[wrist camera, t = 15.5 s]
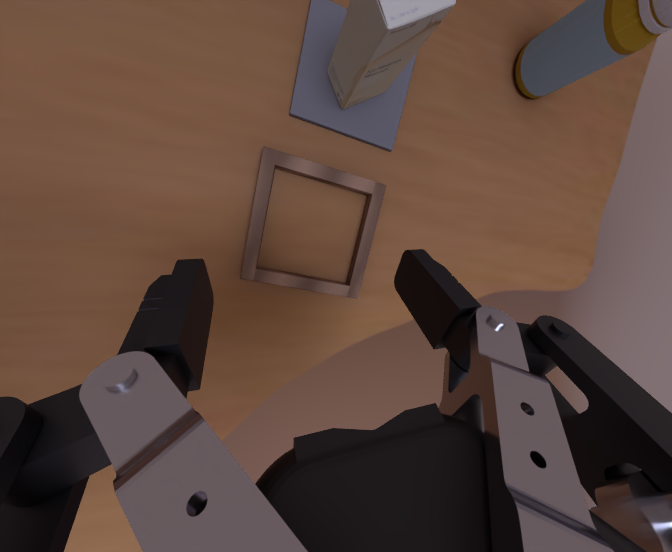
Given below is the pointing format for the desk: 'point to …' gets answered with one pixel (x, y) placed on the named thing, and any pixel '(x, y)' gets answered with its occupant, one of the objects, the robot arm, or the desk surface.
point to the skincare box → (380, 44)
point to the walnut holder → (326, 175)
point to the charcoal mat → (318, 93)
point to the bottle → (589, 42)
